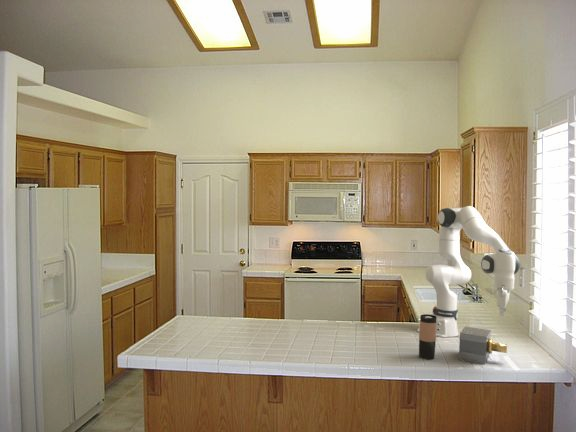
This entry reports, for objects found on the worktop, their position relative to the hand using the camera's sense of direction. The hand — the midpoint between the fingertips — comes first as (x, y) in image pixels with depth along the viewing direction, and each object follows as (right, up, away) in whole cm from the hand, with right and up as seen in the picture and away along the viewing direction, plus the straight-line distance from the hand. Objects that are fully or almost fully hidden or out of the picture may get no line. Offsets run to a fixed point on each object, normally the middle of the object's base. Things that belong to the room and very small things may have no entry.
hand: (502, 313), depth 249 cm
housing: (-11, -23, +7) cm, 26 cm away
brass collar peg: (-5, -20, +3) cm, 21 cm away
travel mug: (-34, -22, +5) cm, 41 cm away
